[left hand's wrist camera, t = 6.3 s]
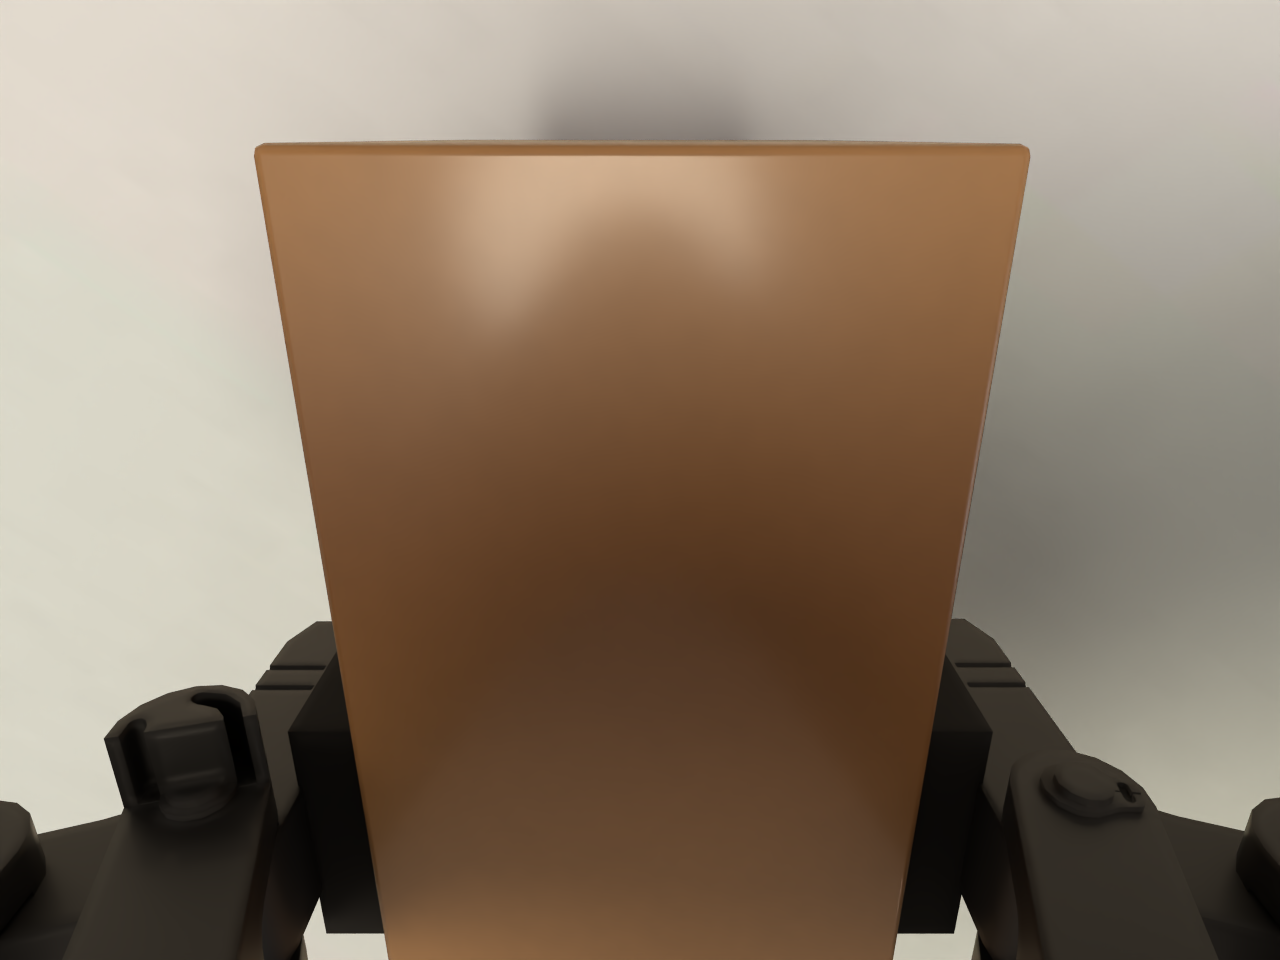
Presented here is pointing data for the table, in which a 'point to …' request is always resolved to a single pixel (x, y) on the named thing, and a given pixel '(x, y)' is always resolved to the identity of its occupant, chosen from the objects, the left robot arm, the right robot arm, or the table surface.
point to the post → (641, 521)
